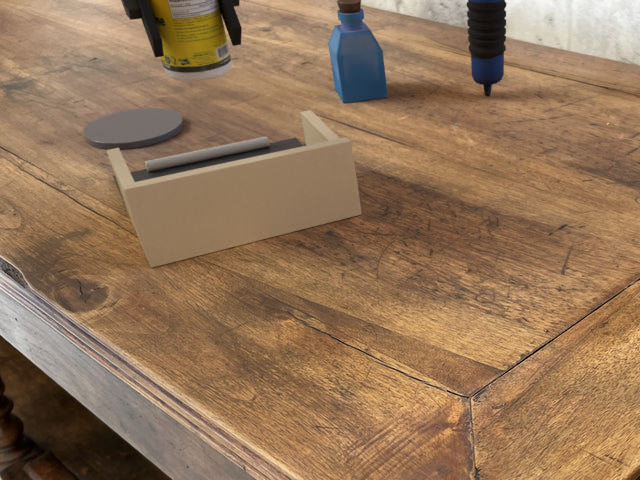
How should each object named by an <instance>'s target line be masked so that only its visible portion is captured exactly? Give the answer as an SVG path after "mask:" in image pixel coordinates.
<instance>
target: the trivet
mask: <svg viewBox="0 0 640 480" xmlns="http://www.w3.org/2000/svg"><path fill="white" fill-rule="evenodd" d="M184 127H185V122H184V118H183V116H182V115H181V113H179V112H178V111H175V110H172V109H168V108H162V107H161V108H160V107H141V108H133V109H126V110H121V111H116V112H111V113H109V114H106V115H103V116H100V117H98V118H96V119H95V120H92V121H90V122H89V123H88V124H87V125H86V126H85V127H84V128H83V129H82V136H83V139H84V141H85V142H86V144H88V145H90V146H91V147H93V148H97V149H104V150H109V149H115V148H119V149H120V150H130V149H137V148H144V147H149V146H152V145H156V144H158V143H162V142H164V141H167V140H169V139H171V138H173V137H176V136H177V135H178V134H179V133H181V131H182V130H183V129H184Z"/></svg>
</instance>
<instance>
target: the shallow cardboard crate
mask: <svg viewBox="0 0 640 480" xmlns="http://www.w3.org/2000/svg"><path fill="white" fill-rule="evenodd" d="M300 117H301V123H302V130H303V134H304V140H305V145H303V144H302V143H301V142H300V140H299V139H298V138H297V137H293V138H288V139H283V140H282V139H281V140H278V141H273V142H270V140H269V137H268V136H262V137H261V136H260V137H256V138H251V139H248V140H242V141H237V142H231V143H227V144H222V145H217V146H212V147H207V148H203V149H198V150H194V151H188V152H184V153H177V154H174V155H173V154H172V155H168V156H163V157H160V158H159V157H158V158H154V159H149V160H145V161H144V166H145V168H144V169H139V170H134V171H130V169H129V167H128V165H127V162H126V160H125V158H124V156H123V153H122V152H121V149H119V148H115V149H106V153H107V156H108V159H109V162H110V165H111V168H112V170H113V174H114V175H113V179H114V182H115V185H116V187H117V190H118V192H119V194H120V198H121V199H122V202H123V204H124V206H125V209H126V212H127V214H128V216H129V219H130V221H131V223H132V226H133V228H134V231H135V233H136V235H137V238H138V240H139V243H140V245H141V248H142V251H143V252H144V255H145V258H146V259H147V262H148V264H149V267H150V269H153V268H156V267H161V266H164V265H169V264H172V263H176V262H181V261H184V260H189V259H192V258H195V257H199V256H200V257H201V256H203V255H207V254H211V253H215V252H219V251H224V250H228V249H231V248H234V247H235V248H236V247H239V246H244V245H247V244H251V243H255V242H259V241H262V240H263V241H264V240H267V239H271V238H274V237H278V236H283V235H287V234H290V233H291V234H292V233H294V232H295V233H296V232H299V231H302V230H306V229H310V228H314V227H318V226H323V225H327V224H329V223H334V222H338V221H341V220H345V219H349V218H353V217H358V216H361V215H363V214H362V206H361V199H360V192H359V186H358V179H357V171H356V165H355V158H354V151H353V144H352V140H351V139H350V138H349V137H347V136H346V137H345V136H344V137H339V135H337V134H336V132H334V131H333V130H332V129H331V128H330V127H329V126H328V125H327V124H326V123H325V122H324V121H323V120H322V119H320V118H319V117H318V115H316V113H314V111H312V110H311V109H309V110H304V111H300Z"/></svg>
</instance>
